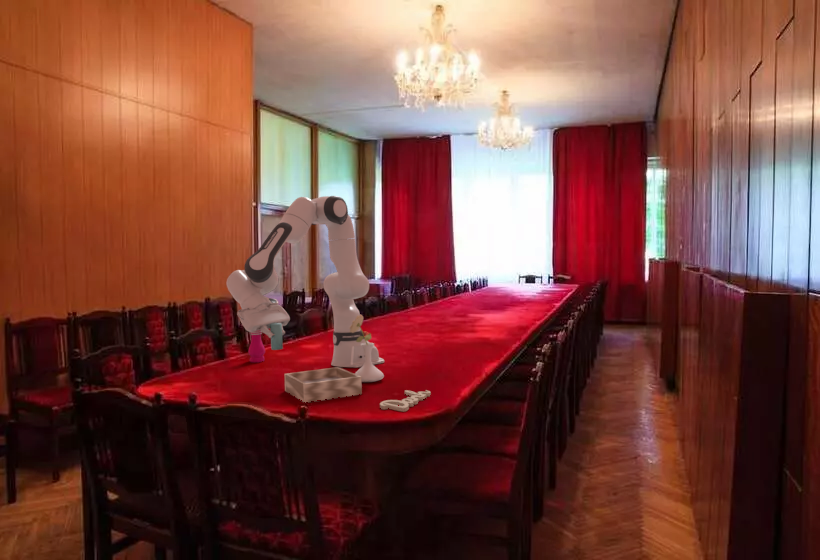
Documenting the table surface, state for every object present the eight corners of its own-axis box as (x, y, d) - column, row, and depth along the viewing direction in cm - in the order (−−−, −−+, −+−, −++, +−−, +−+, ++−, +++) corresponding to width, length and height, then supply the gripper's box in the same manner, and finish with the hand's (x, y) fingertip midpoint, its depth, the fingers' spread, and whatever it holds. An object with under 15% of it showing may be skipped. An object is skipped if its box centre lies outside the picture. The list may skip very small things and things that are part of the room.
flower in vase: (370, 376, 233) (368, 311, 232) (390, 380, 225) (388, 312, 224) (343, 382, 224) (341, 314, 223) (363, 386, 216) (361, 316, 215)
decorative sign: (404, 407, 182) (375, 405, 186) (405, 413, 182) (375, 410, 186) (435, 391, 203) (408, 388, 207) (435, 395, 203) (408, 393, 207)
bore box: (338, 383, 223) (337, 367, 222) (361, 394, 205) (361, 376, 205) (285, 391, 213) (284, 373, 212) (304, 402, 195) (304, 384, 195)
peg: (280, 347, 222) (279, 322, 221) (284, 349, 218) (283, 324, 218) (269, 348, 220) (268, 323, 219) (273, 350, 216) (272, 324, 216)
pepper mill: (261, 362, 268) (259, 317, 267) (245, 362, 269) (244, 317, 268) (268, 359, 275) (266, 315, 274) (253, 359, 277) (251, 315, 276)
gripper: (239, 304, 213) (261, 333, 208) (279, 298, 230) (300, 325, 226) (230, 316, 215) (252, 345, 211) (271, 310, 233) (292, 337, 228)
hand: (277, 335), depth 218 cm, fingers closed on peg, 4 cm apart
